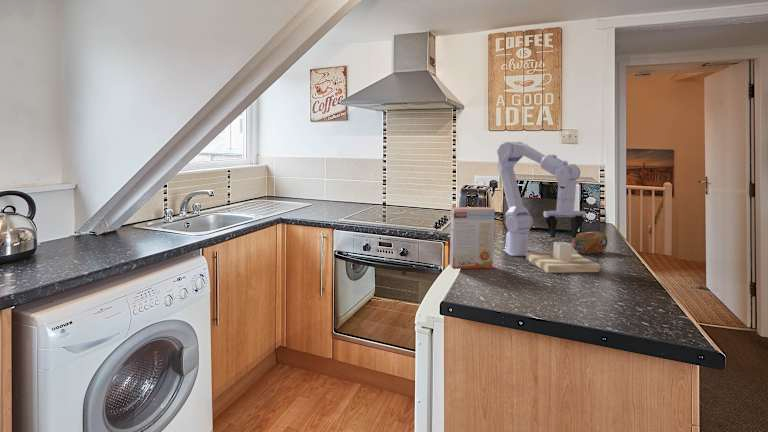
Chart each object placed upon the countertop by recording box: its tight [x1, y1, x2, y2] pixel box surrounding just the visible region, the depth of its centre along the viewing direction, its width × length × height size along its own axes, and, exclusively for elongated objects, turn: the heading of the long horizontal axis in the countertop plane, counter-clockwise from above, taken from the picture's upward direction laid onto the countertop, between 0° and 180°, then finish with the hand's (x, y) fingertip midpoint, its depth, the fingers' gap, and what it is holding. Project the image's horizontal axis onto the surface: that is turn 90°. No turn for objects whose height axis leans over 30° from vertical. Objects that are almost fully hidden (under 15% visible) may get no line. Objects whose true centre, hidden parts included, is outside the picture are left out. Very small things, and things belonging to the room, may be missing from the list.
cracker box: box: [449, 206, 496, 270], centre depth 145 cm, size 14×6×21 cm, turn 92°
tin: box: [572, 231, 608, 255], centre depth 169 cm, size 15×3×8 cm, turn 105°
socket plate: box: [525, 251, 601, 274], centre depth 150 cm, size 18×18×2 cm
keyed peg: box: [552, 241, 573, 260], centre depth 150 cm, size 4×6×8 cm
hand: (562, 237), depth 149 cm, fingers open, 7 cm apart
